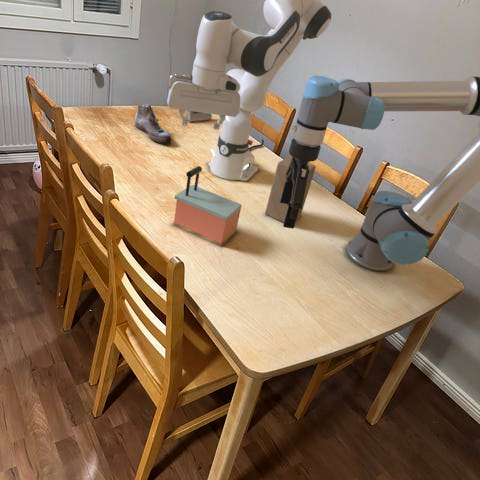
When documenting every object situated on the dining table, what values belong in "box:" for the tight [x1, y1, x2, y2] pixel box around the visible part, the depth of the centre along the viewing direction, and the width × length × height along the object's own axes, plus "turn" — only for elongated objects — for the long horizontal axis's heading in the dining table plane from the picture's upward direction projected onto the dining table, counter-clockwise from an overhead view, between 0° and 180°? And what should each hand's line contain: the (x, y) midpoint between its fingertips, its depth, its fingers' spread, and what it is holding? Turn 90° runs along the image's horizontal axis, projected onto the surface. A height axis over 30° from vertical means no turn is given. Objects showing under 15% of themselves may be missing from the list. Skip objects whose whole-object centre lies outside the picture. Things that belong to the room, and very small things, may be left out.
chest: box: [173, 200, 242, 247], centre depth 138 cm, size 17×10×9 cm, turn 64°
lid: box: [174, 165, 243, 220], centre depth 133 cm, size 18×10×9 cm, turn 64°
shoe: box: [134, 102, 172, 145], centre depth 194 cm, size 25×11×12 cm, turn 30°
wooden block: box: [264, 155, 317, 224], centre depth 152 cm, size 10×10×20 cm
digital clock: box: [185, 110, 213, 123], centre depth 224 cm, size 16×9×11 cm, turn 123°
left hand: (200, 127), depth 127 cm, fingers open, 8 cm apart
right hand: (286, 214), depth 121 cm, fingers open, 13 cm apart
